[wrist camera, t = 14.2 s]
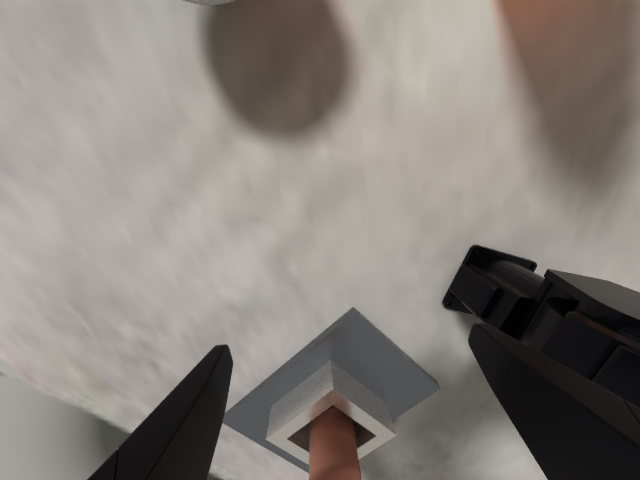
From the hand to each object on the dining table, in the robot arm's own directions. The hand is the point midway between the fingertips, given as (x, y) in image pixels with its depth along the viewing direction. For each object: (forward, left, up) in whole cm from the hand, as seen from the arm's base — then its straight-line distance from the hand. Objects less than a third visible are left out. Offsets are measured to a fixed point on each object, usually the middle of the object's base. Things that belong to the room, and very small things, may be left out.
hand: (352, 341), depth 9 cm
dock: (-6, +18, -13) cm, 23 cm away
